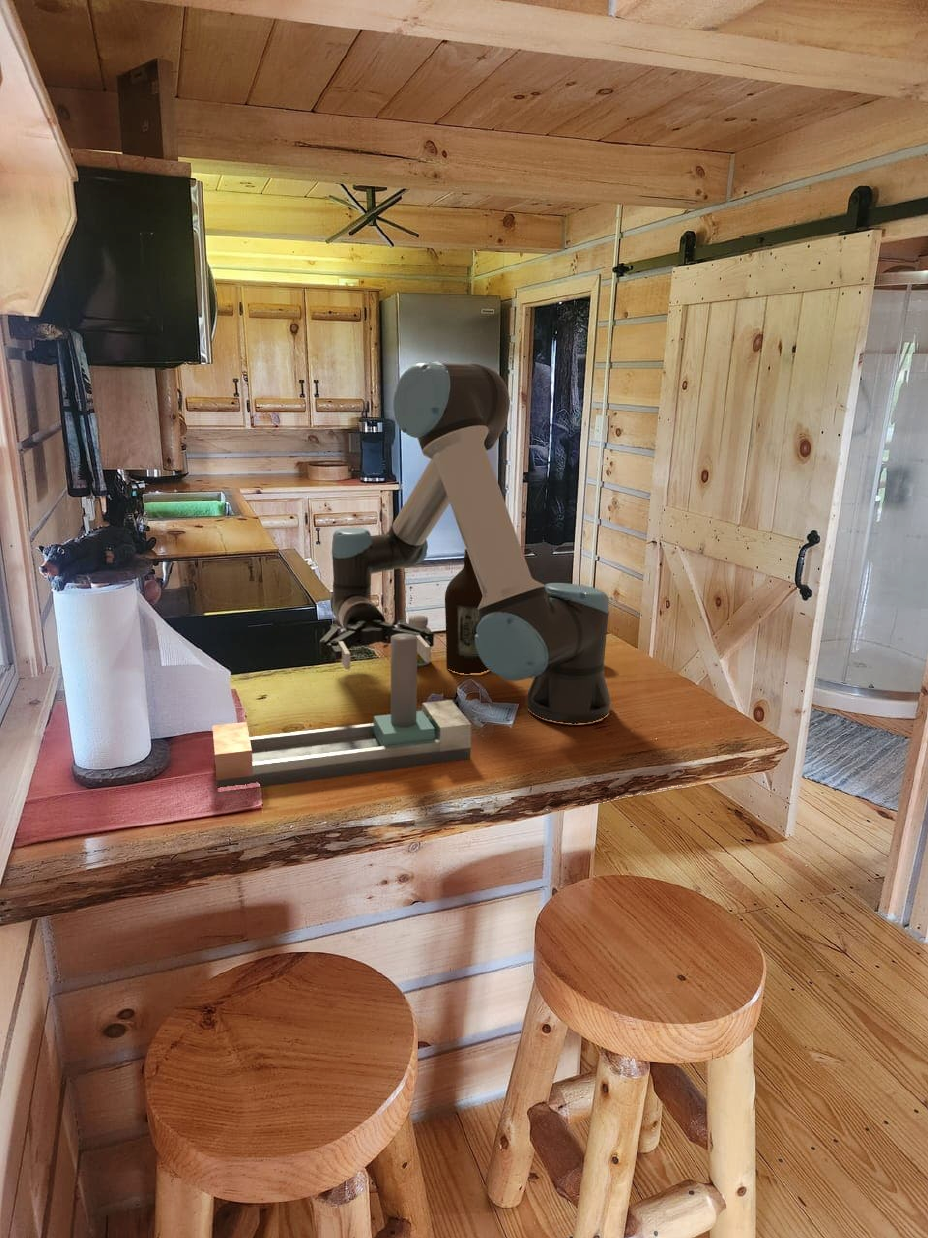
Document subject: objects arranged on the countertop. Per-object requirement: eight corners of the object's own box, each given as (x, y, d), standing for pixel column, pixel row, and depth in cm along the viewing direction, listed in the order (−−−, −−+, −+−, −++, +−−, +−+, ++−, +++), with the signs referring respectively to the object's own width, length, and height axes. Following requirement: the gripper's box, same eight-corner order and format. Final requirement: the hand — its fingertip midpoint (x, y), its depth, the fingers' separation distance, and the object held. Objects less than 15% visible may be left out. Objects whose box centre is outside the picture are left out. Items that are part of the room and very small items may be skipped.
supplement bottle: (411, 668, 162) (411, 623, 160) (400, 659, 167) (401, 615, 164) (434, 664, 165) (435, 619, 162) (424, 656, 169) (424, 613, 167)
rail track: (450, 732, 133) (451, 699, 131) (470, 759, 124) (471, 724, 122) (215, 761, 121) (212, 725, 119) (217, 793, 112) (214, 754, 110)
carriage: (421, 727, 129) (423, 628, 124) (434, 746, 123) (435, 642, 118) (373, 733, 127) (373, 632, 122) (384, 752, 120) (383, 646, 115)
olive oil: (438, 661, 167) (440, 544, 160) (487, 658, 169) (491, 543, 162) (449, 679, 157) (452, 556, 150) (500, 676, 159) (505, 554, 152)
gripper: (425, 635, 155) (459, 672, 136) (296, 644, 147) (313, 686, 128) (425, 598, 153) (460, 631, 133) (294, 606, 145) (312, 642, 126)
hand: (388, 658), depth 131 cm, fingers open, 13 cm apart
